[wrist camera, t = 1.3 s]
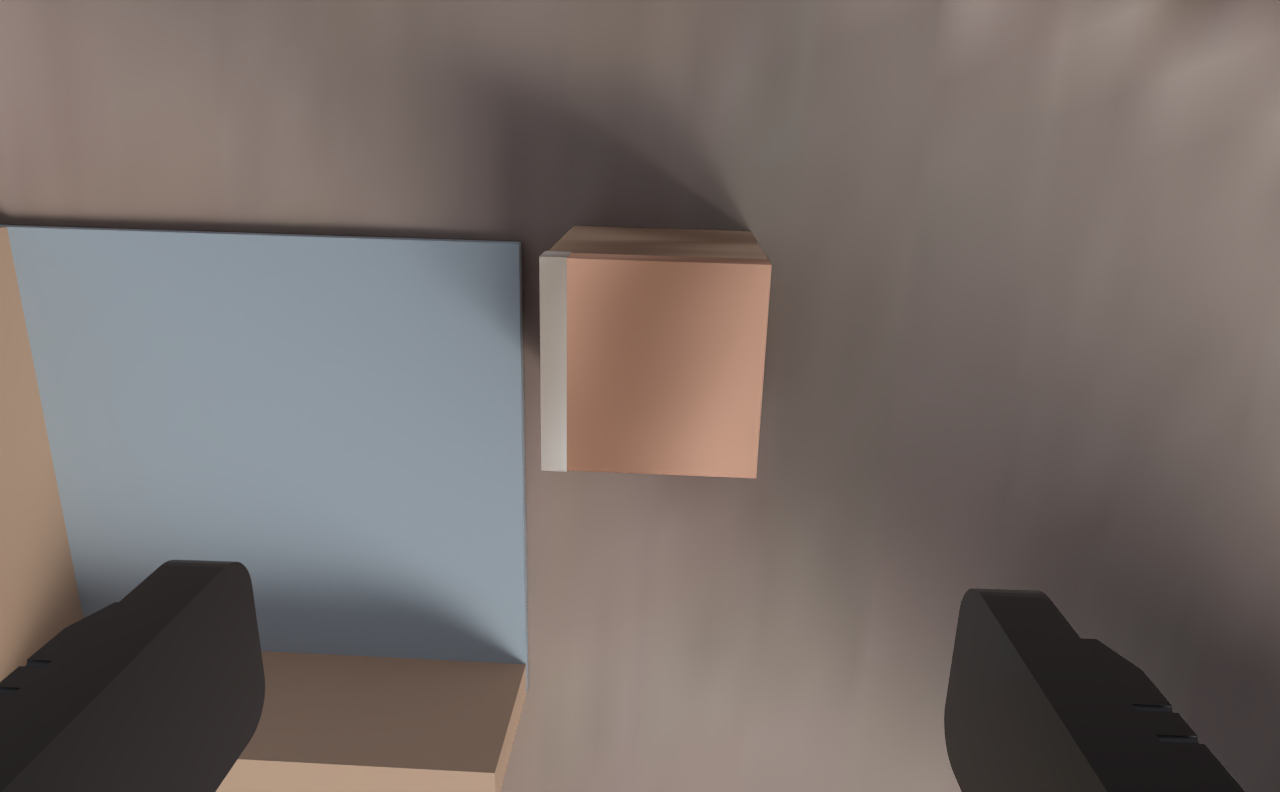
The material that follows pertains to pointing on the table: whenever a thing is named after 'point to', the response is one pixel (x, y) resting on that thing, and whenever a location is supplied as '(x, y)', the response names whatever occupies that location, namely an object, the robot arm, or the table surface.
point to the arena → (283, 476)
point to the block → (653, 351)
